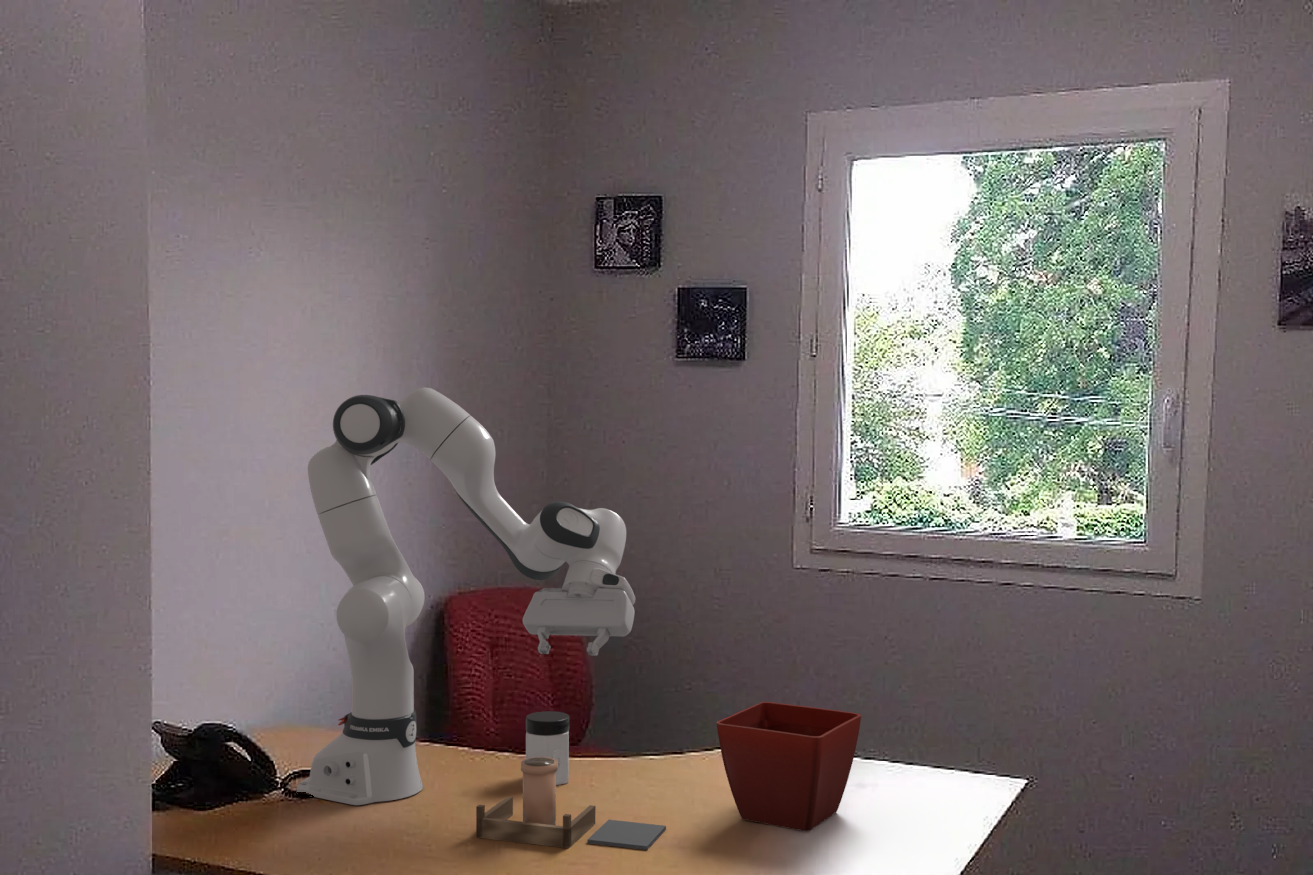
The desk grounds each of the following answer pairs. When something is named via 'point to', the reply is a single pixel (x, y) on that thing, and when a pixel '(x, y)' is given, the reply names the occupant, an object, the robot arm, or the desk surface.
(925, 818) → the desk surface
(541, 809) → the pot
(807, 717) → the plant pot
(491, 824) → the low fence
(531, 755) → the jar
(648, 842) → the mat
